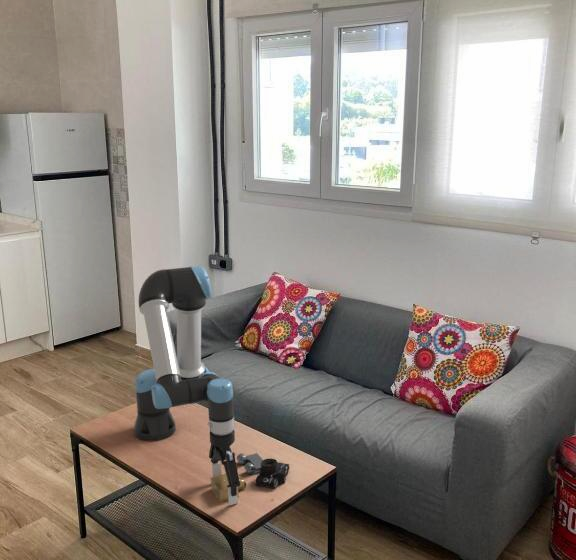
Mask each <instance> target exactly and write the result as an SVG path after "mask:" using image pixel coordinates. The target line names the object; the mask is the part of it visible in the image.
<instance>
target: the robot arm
mask: <svg viewBox="0 0 576 560" xmlns="http://www.w3.org/2000/svg"><path fill="white" fill-rule="evenodd" d="M211 298H212V287H211V283H210V279H209V275H208V273H207V271H206V269H205V268H204V267H203V266H188V267H178V268H169V269H168V268H167V269H165V268H164V269H159V270H156V271H154V272H152V273H151V274H150V275H148V277H147V278H146V279H145V280H144V282H143V284H142V285H141V288H140V290H139V293H138V309H139V312H140V314H141V315H143V317H144V322H145V323H144V324H145V328H146V333H147V334H146V335H147V338H148V344H149V349H150V356H151V359H152V364H153V365H152V366H153V368H149V369H146V370H143V371H142V372H140V373H139V374H138V375H137V376H136V377H135V382H134V386H135V387H134V391H135V395H136V413H137V415H136V419H135V422H134V426H133V433H134V436H135V438H137V439H139V440H141V441H146V442H152V441H160V440H164V439H167V438H170V436H172V435H174V433H175V432H176V428H177V427H176V422H175V420H174V419H175V418H174V417H173V415H172V412H171V410H170V409H171V408H175V407H180V406H185V405H186V406H187V405H192V404H193V405H194V404H199V403H204V402H205V403H207V408H208V409H207V410H208V422H207V426H208V427H209V442H210V447H209V452H208V458H209V459H210V463H211V473H212V477H215V476H219V475H222V465H223V468H224V471H225V474H226V476H227V479H228V483H229V485H227V488H228V500H227V501H228V505H229V506H232V505H235V504H238V503H239V499H238V498H239V497H238V494H237V487H238V486H240V481H239V478H240V477H239V472H238V467H237V462H236V461H237V460H236V454H235V452H234V451H232V449H231V447H230V446H232V445H233V444H234V443H235V441H236V437H235V415H234V390H233V383H232V382H231V381H230V380H229V379H226V378H221V377H220V376H219V375H217V373H215V372H213V371H209V369H208V368H207V366H205V363H203V362H202V310H203V309H204V308H205V307H206V303H207V300H209V299H211ZM169 304H171V305H172V307H173V308H174V309H175V310H176V347H175V342H174V338H173V334H172V329H171V323H170V319H169V314H168V310H169V307H170V305H169Z"/></svg>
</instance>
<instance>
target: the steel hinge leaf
mask: <svg viewBox="0 0 576 560" xmlns="http://www.w3.org/2000/svg"><path fill="white" fill-rule="evenodd" d="M263 460H264V459H263V458H262V457H261V456H260V455H259V453H258V452H256V453H252V454H248V455H245V454H244V453H239V454H238V455H237V456H236V461H237V463H239V464H240V466H244V467H243V468H244V470H245V472H246V473H247V474H248V475H249V476H251V475H256V474H260V471H261V462H262V461H263Z"/></svg>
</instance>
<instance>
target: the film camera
mask: <svg viewBox="0 0 576 560" xmlns="http://www.w3.org/2000/svg"><path fill="white" fill-rule="evenodd" d="M289 470H290V464H289V463H284V462H282V461H277V459H275V458H271V457H270V458H265V459H263V461H262V462H261V471H260V472H259V473H258V475H257V476H256V478H255V485H256V486H261V487H266V488H270V489H272V488H273V489H275V488H277V487H278V485H279V484H285V483H286V481H287V477H288V474H289V473H290V472H289Z"/></svg>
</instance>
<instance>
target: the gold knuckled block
mask: <svg viewBox="0 0 576 560" xmlns="http://www.w3.org/2000/svg"><path fill="white" fill-rule="evenodd" d="M239 481H240V486H238V487H237V494H238V498H239V497H240V496H239V491H244V490H245V489H246V488H247V482H246V481H245V480H244V479H243V478H242V477H239ZM227 485H229V483H228V479H227V476H226V473H223V474H222V473H221V475H219V476H215V477H213V476H212V477H210V489H211V491H212V492H213V493H214V496H215V497H216V498H217V499H218V501H219V502H220V503H222V502H226V501H228V488H227Z"/></svg>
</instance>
